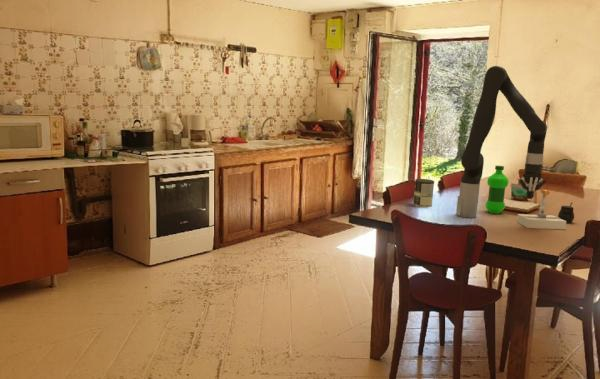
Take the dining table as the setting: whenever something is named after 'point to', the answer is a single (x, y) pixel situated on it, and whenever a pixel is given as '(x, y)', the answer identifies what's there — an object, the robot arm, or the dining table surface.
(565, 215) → the mate gourd
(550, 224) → the block
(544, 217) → the breaker handle
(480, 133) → the robot arm
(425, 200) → the coffee can
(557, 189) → the dining table surface
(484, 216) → the dining table surface
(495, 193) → the plastic bottle
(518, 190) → the food container
